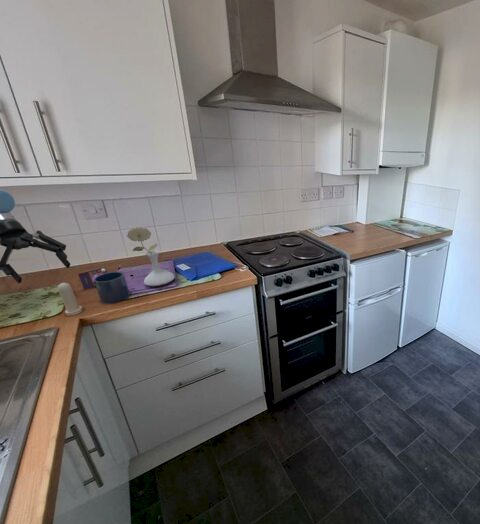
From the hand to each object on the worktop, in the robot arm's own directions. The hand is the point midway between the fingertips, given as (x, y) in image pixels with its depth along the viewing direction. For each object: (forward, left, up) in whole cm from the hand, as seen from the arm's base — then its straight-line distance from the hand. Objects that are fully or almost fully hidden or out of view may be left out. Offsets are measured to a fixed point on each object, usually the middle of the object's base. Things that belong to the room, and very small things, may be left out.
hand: (45, 273), depth 105 cm
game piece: (+8, -4, -14) cm, 16 cm away
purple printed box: (+1, +18, -14) cm, 22 cm away
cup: (+16, +6, -14) cm, 22 cm away
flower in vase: (+26, +18, -14) cm, 34 cm away
